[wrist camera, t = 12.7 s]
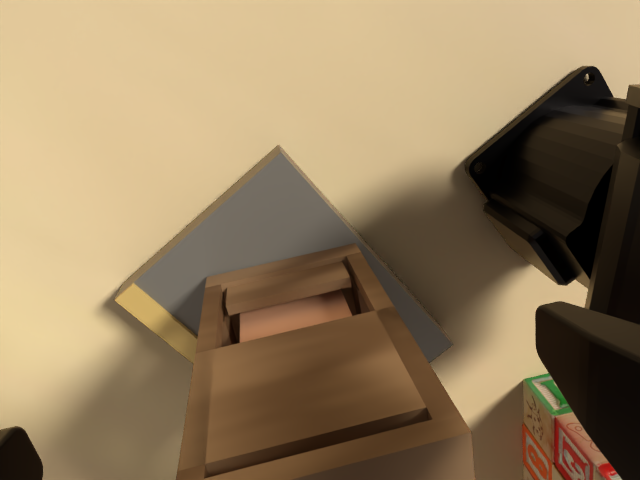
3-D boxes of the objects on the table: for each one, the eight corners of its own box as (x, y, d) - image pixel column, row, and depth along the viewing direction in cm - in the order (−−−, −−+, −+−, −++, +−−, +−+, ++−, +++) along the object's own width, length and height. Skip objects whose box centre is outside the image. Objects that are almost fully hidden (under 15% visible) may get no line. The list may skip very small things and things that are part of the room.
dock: (278, 144, 20) (281, 153, 18) (441, 327, 24) (455, 347, 23) (122, 283, 21) (112, 302, 20) (303, 433, 26) (307, 458, 24)
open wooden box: (355, 243, 20) (471, 431, 10) (375, 365, 23) (486, 619, 12) (206, 276, 20) (171, 510, 10) (242, 398, 22) (245, 690, 12)
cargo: (338, 282, 20) (360, 335, 16) (353, 364, 21) (377, 430, 17) (239, 305, 19) (239, 365, 16) (262, 387, 21) (267, 458, 17)
